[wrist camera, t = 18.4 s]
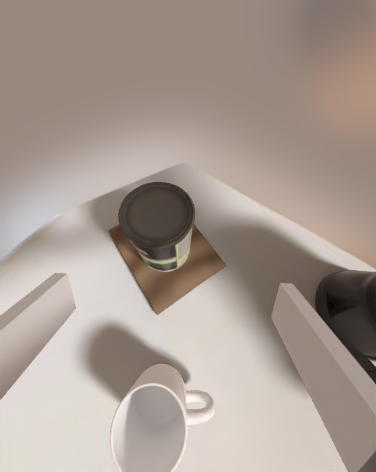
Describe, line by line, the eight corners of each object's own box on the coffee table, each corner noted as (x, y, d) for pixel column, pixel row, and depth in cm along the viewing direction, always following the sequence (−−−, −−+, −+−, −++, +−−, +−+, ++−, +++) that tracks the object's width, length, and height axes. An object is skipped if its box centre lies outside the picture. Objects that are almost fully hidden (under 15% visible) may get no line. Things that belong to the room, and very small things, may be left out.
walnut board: (224, 266, 37) (225, 265, 36) (157, 314, 33) (156, 314, 32) (171, 199, 44) (171, 196, 43) (110, 233, 40) (108, 230, 39)
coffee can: (154, 282, 34) (137, 262, 22) (132, 238, 38) (106, 199, 25) (200, 256, 37) (209, 224, 24) (175, 217, 40) (172, 171, 27)
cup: (134, 364, 30) (113, 386, 21) (206, 357, 31) (215, 376, 22) (132, 431, 27) (105, 492, 18) (212, 422, 28) (227, 476, 18)
